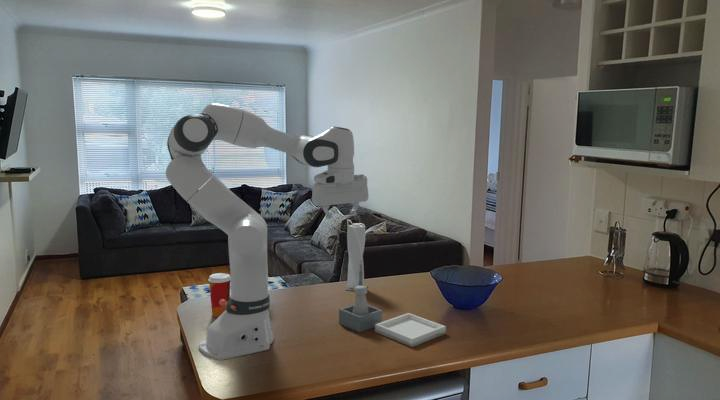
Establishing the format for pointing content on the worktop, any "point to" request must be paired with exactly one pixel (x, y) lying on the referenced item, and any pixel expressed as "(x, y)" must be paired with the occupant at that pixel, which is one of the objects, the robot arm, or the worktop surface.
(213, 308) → the paper cup
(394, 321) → the tray
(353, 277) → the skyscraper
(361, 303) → the salt shaker
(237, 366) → the worktop surface
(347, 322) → the hollow square frame
